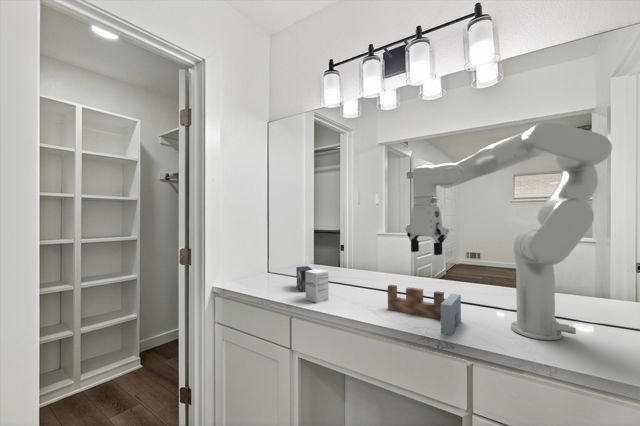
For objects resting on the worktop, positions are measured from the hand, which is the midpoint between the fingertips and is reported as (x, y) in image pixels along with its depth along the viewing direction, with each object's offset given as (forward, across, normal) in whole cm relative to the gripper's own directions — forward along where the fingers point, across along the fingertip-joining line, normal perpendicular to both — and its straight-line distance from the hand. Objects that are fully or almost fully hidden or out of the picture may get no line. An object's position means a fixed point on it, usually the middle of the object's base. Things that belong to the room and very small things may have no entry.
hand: (426, 253), depth 100 cm
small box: (+23, +61, +16) cm, 67 cm away
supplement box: (+23, +42, +20) cm, 52 cm away
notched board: (+23, +8, -3) cm, 25 cm away
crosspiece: (+24, -7, -3) cm, 25 cm away
